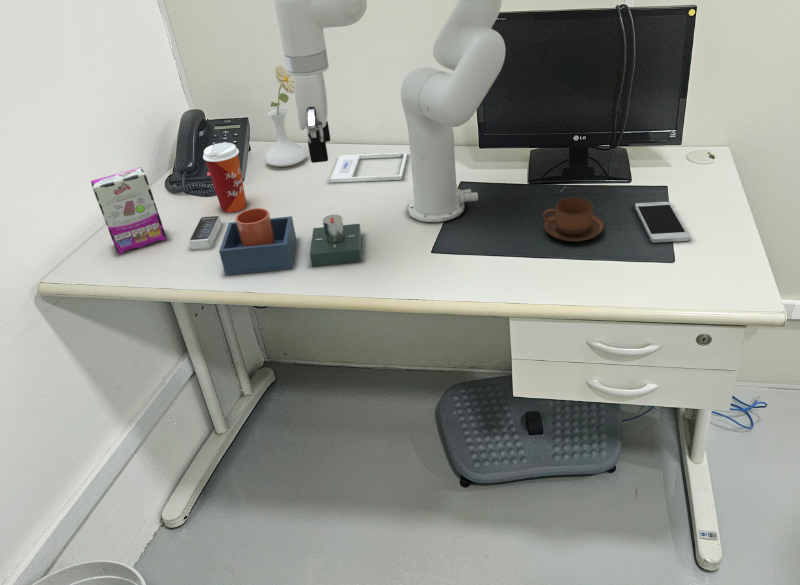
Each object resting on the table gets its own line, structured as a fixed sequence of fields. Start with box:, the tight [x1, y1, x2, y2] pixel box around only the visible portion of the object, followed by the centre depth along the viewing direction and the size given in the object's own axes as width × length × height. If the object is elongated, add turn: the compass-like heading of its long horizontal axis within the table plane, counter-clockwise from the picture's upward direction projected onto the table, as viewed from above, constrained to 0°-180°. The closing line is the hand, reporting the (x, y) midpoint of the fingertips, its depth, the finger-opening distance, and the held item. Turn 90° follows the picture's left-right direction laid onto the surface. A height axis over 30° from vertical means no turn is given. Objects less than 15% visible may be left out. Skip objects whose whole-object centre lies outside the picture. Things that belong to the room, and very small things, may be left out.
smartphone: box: [634, 201, 690, 244], centre depth 145 cm, size 7×16×1 cm, turn 177°
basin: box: [218, 215, 297, 276], centre depth 148 cm, size 14×12×6 cm
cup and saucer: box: [542, 197, 605, 243], centre depth 144 cm, size 12×12×6 cm
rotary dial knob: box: [322, 214, 345, 243], centre depth 146 cm, size 4×4×5 cm
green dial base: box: [309, 223, 362, 268], centre depth 148 cm, size 10×11×3 cm
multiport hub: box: [188, 215, 222, 251], centre depth 159 cm, size 4×11×2 cm, turn 179°
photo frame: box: [329, 152, 408, 183], centre depth 181 cm, size 15×1×18 cm
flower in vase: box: [264, 64, 308, 168], centre depth 184 cm, size 13×11×25 cm
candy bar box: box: [90, 166, 168, 255], centre depth 155 cm, size 11×5×16 cm, turn 117°
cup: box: [235, 207, 276, 247], centre depth 146 cm, size 7×7×9 cm
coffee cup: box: [202, 142, 247, 214], centre depth 167 cm, size 8×8×15 cm
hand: (321, 151), depth 136 cm, fingers open, 9 cm apart
